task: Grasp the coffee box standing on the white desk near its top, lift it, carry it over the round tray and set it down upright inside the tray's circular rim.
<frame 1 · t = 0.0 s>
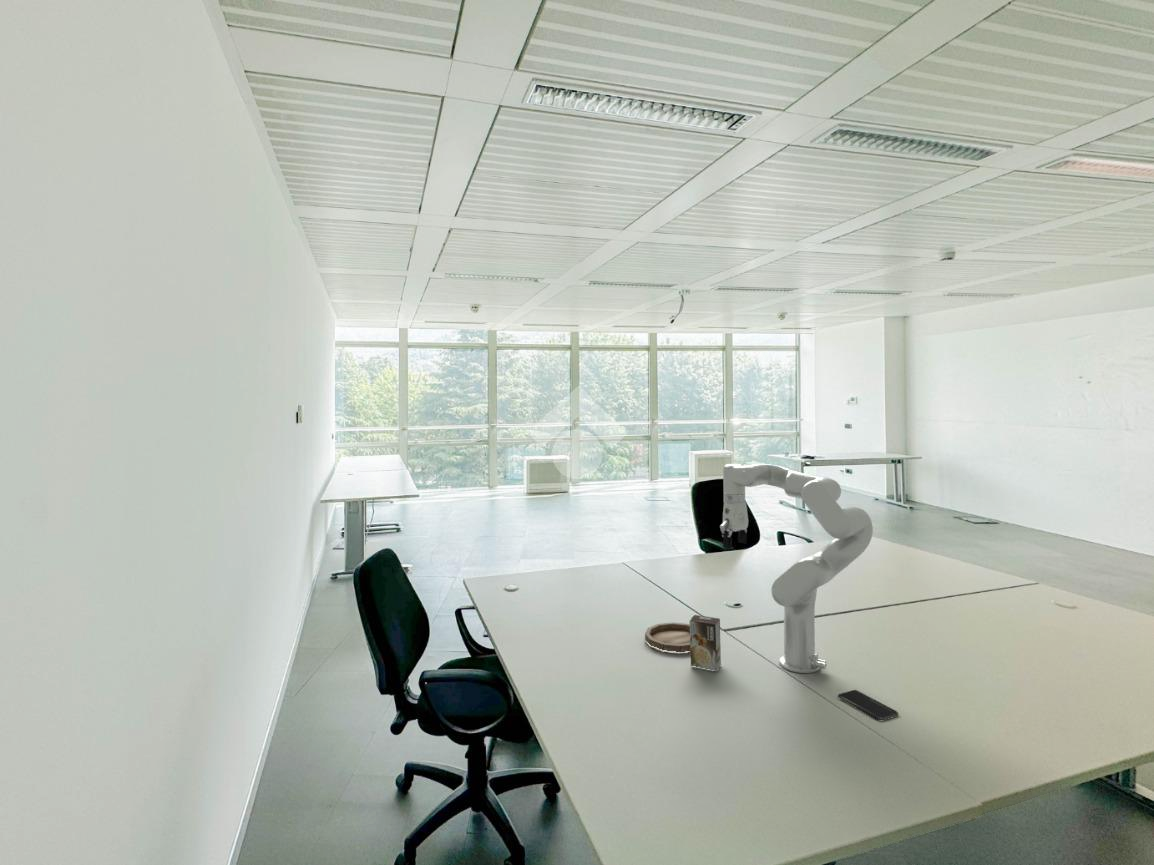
hand: (734, 545, 211), 37 cm above the table, tool pointing down, fingers open, 9 cm apart
phone: (867, 707, 168), on the table
coffee box: (705, 667, 196), on the table
round tray: (675, 641, 218), on the table
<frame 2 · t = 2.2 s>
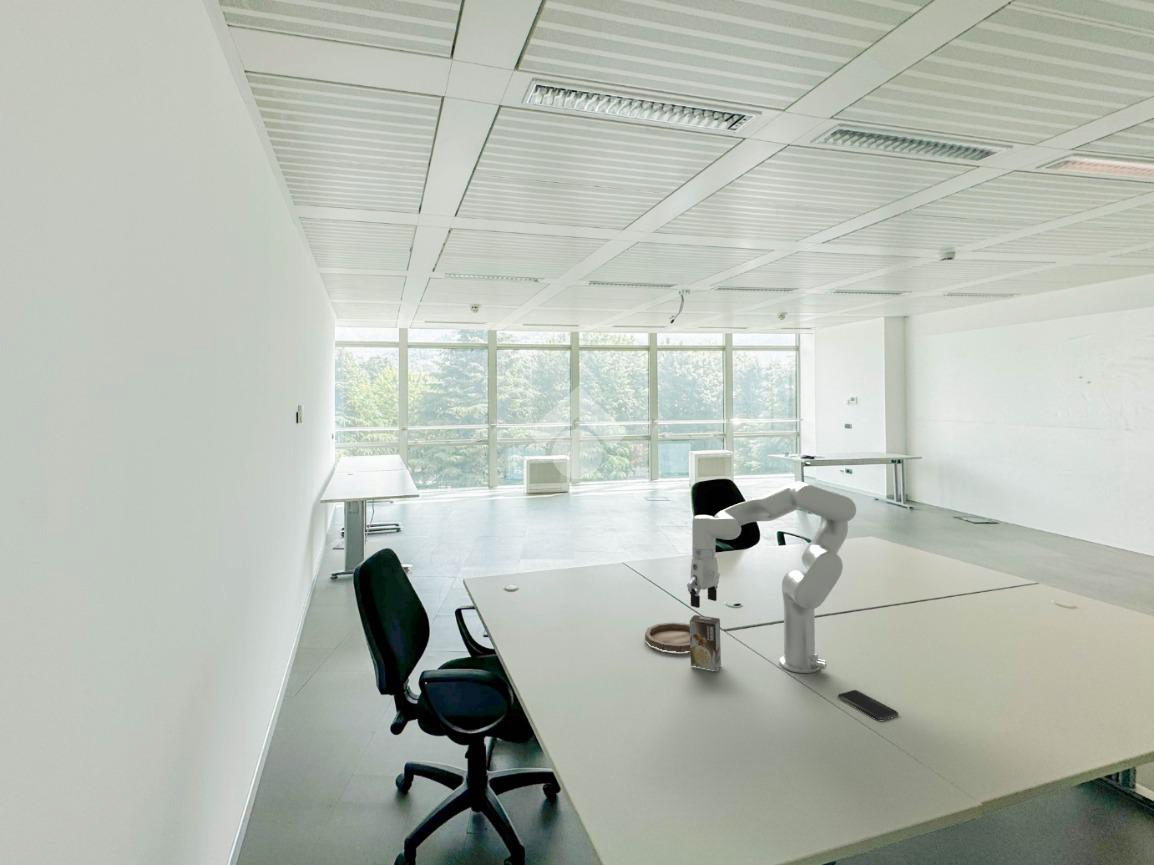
hand: (703, 603, 195), 21 cm above the table, tool pointing down, fingers open, 9 cm apart
nothing on the table moved.
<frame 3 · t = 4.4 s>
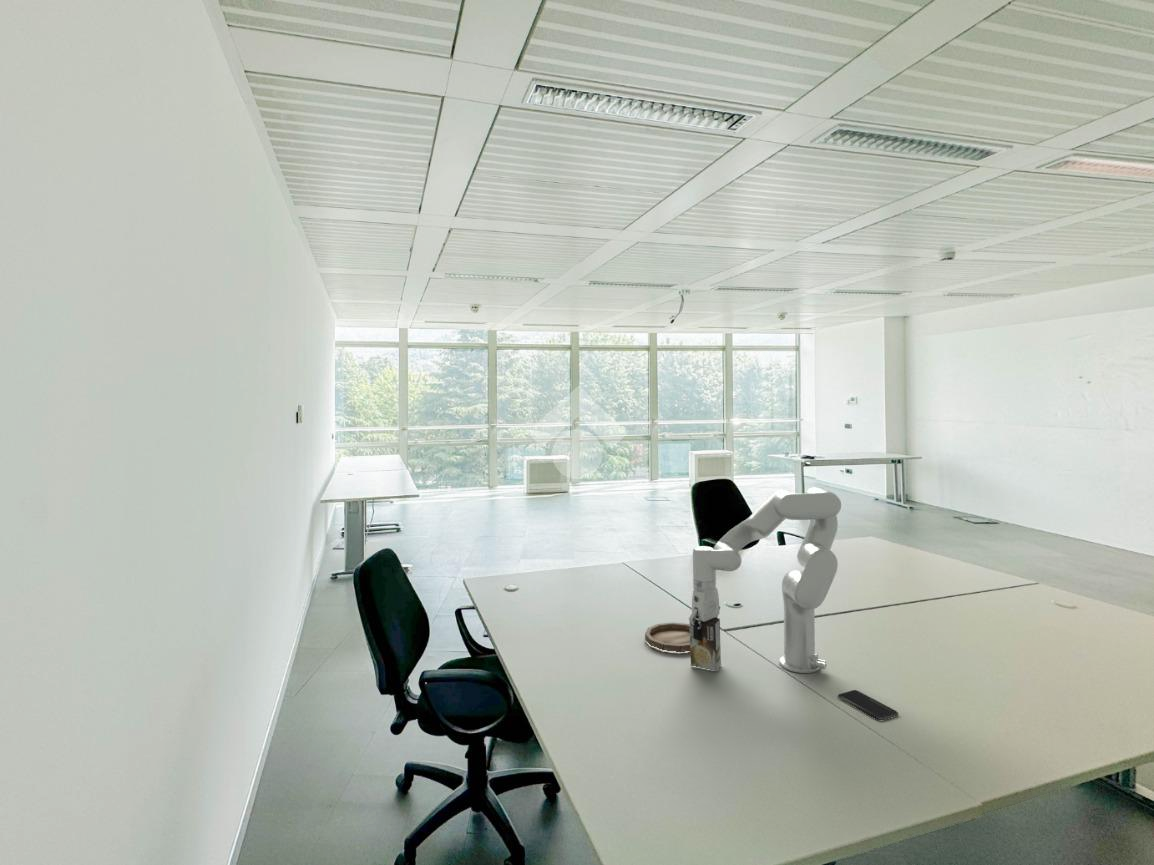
hand: (705, 635, 196), 10 cm above the table, tool pointing down, fingers closed on coffee box, 7 cm apart
coffee box: (705, 666, 196), on the table, touching gripper
everything else where it was.
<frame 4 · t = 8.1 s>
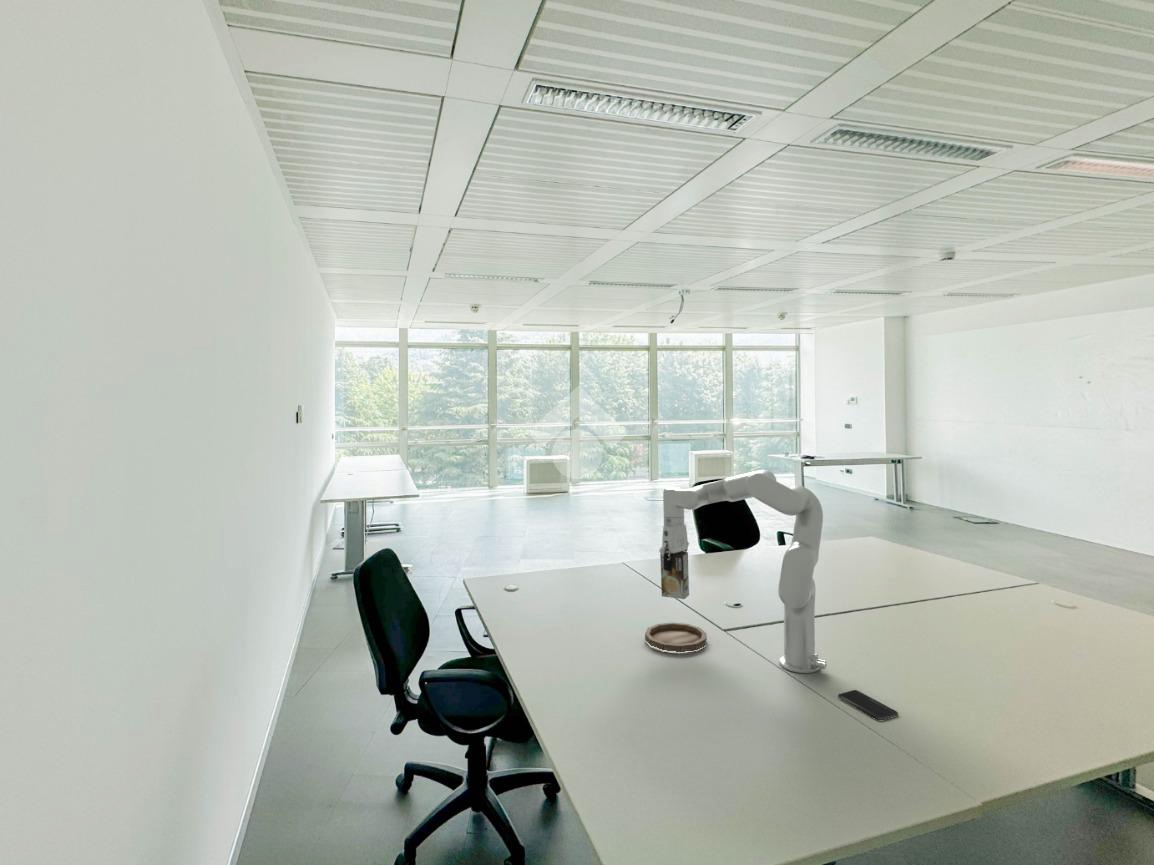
hand: (674, 567, 216), 28 cm above the table, tool pointing down, fingers closed on coffee box, 7 cm apart
coffee box: (675, 596, 217), point 17 cm above the table, touching gripper
everything else where it was.
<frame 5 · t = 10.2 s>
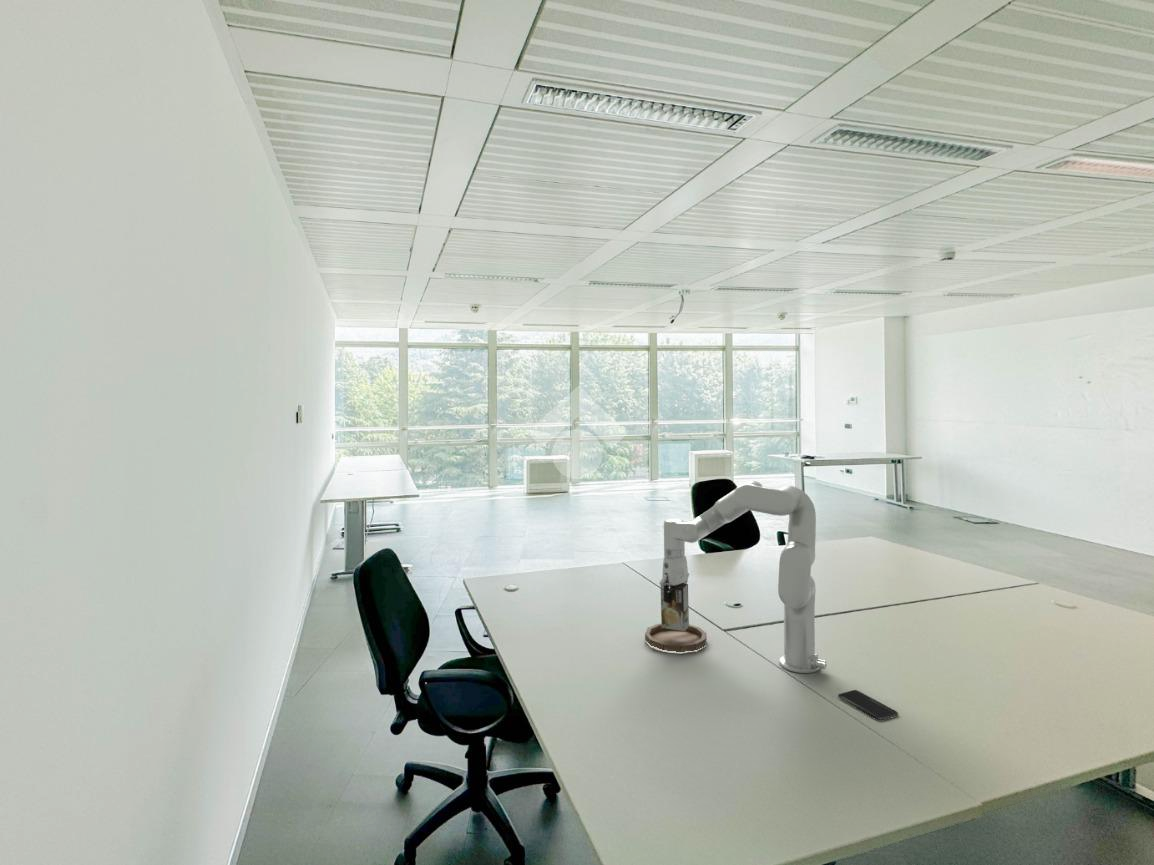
hand: (675, 599, 217), 16 cm above the table, tool pointing down, fingers closed on coffee box, 7 cm apart
coffee box: (675, 627, 218), point 5 cm above the table, touching gripper
everything else where it was.
when the fingers open (13 cm above the table, at t = 11.9 s): coffee box drops 1 cm, resting on round tray.
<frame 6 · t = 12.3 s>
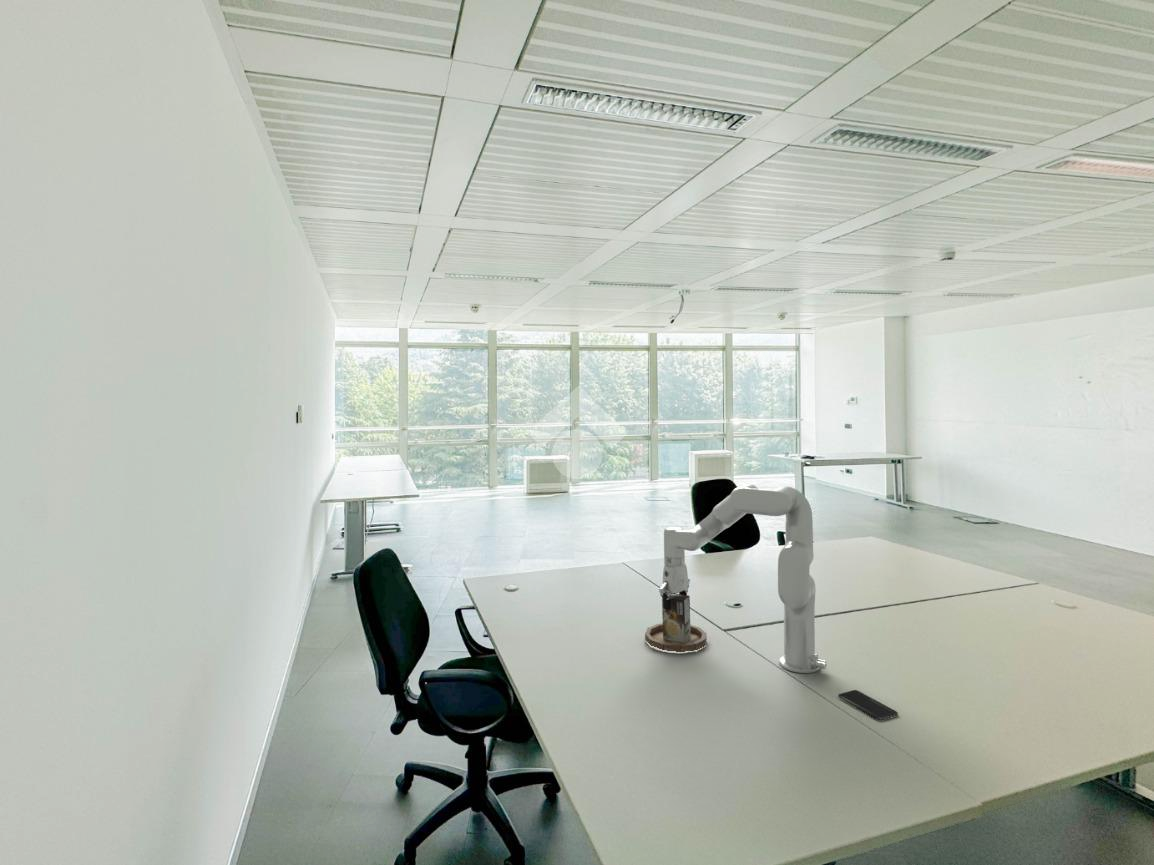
hand: (675, 606, 217), 13 cm above the table, tool pointing down, fingers open, 9 cm apart
coffee box: (676, 639, 218), point 1 cm above the table, touching round tray
everything else where it was.
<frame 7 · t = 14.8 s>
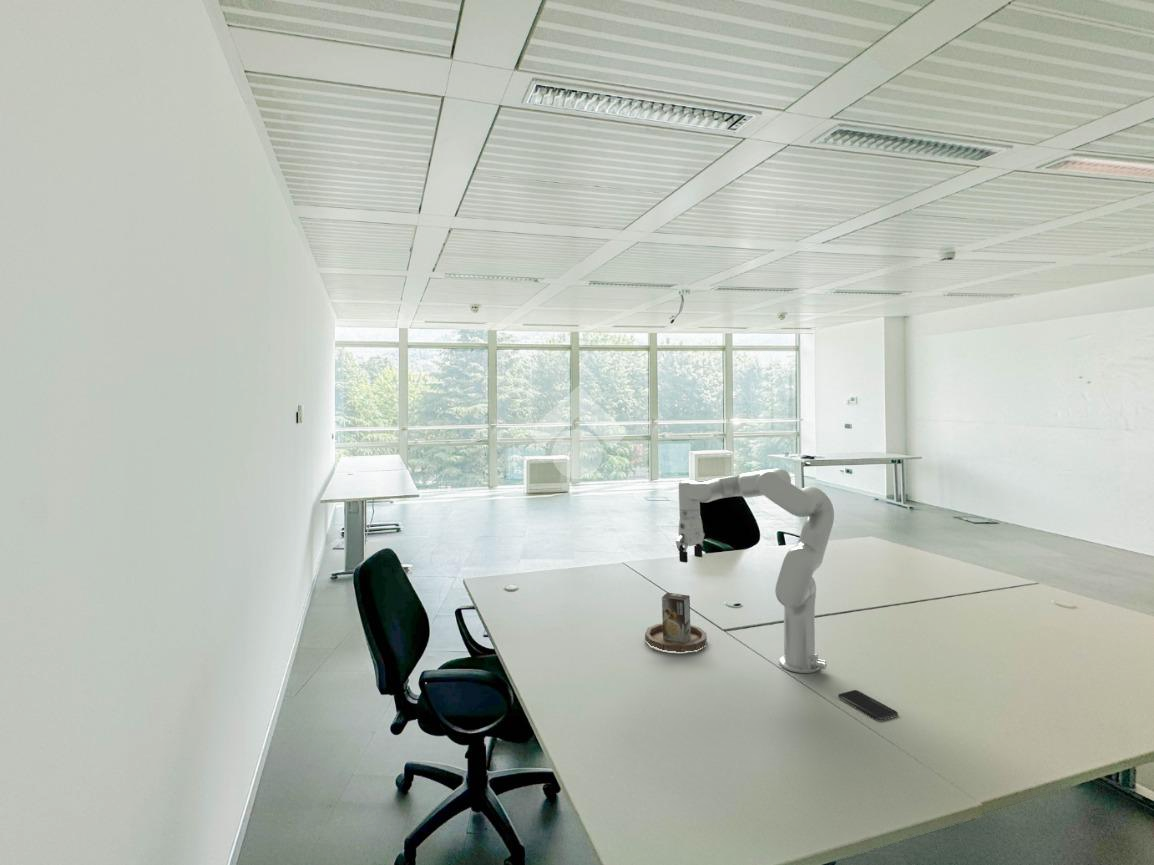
hand: (691, 559, 218), 30 cm above the table, tool pointing down, fingers open, 9 cm apart
nothing on the table moved.
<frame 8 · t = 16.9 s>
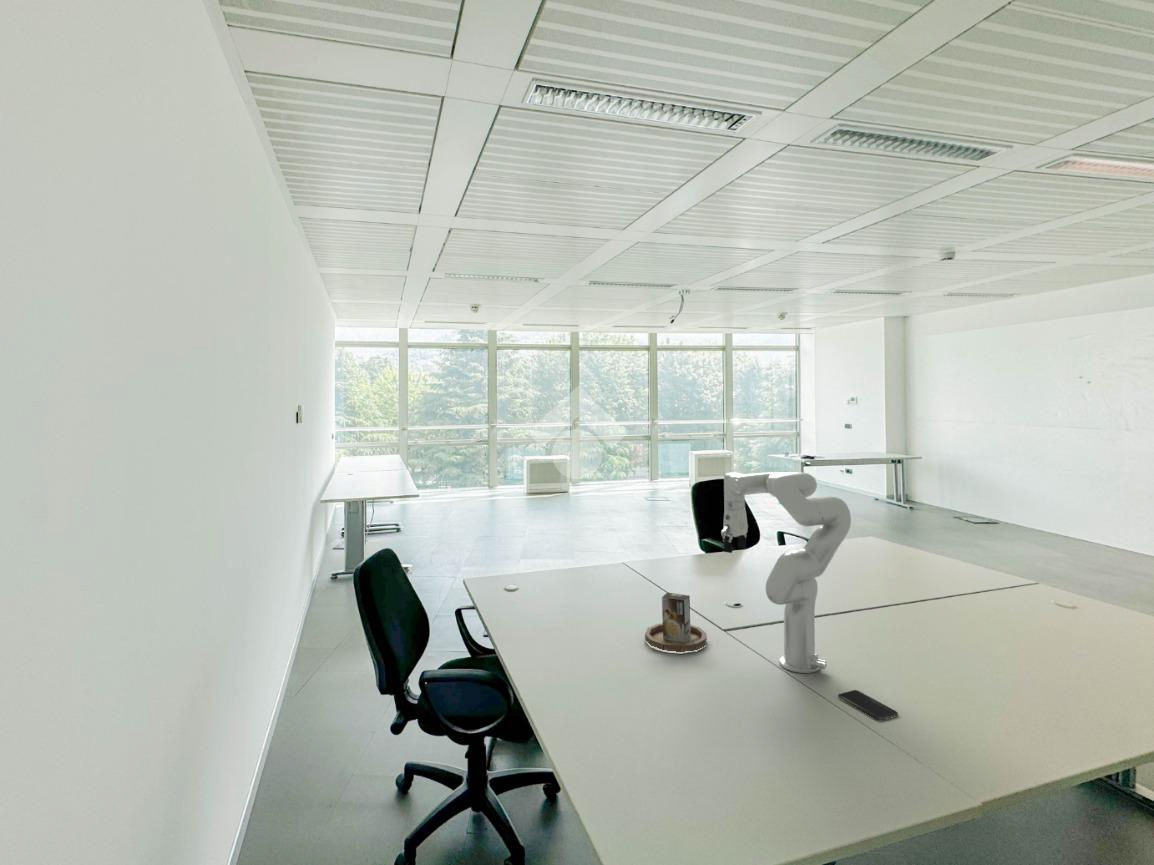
hand: (735, 549, 223), 32 cm above the table, tool pointing down, fingers open, 9 cm apart
nothing on the table moved.
at the end: coffee box 0.4 cm off-centre on the round tray, point 0.8 cm above the round tray's base; coffee box tilted 0°; the gripper is holding nothing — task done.
